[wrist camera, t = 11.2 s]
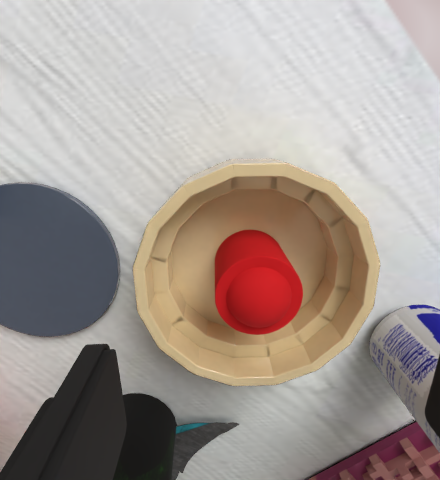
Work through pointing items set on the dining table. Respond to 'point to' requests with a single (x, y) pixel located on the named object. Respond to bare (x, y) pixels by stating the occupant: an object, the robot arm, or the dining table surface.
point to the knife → (194, 441)
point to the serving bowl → (293, 245)
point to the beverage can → (409, 357)
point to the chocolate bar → (391, 459)
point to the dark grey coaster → (53, 261)
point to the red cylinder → (255, 283)
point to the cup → (146, 440)
